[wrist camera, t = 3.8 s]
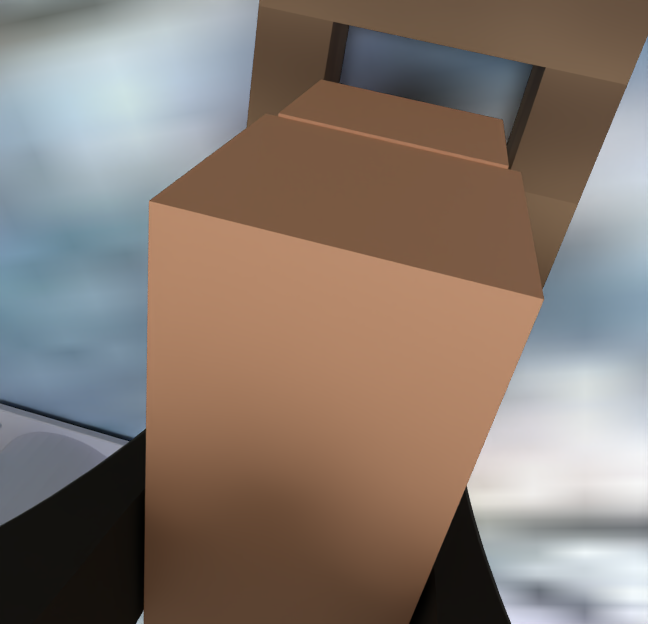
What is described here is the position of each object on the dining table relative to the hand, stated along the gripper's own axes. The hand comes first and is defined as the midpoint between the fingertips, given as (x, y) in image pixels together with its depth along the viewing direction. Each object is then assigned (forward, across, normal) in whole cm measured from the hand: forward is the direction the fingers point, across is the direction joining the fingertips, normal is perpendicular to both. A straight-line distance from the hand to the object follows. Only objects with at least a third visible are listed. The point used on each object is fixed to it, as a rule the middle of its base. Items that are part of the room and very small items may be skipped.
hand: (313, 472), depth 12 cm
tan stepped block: (+4, 0, 0) cm, 4 cm away
